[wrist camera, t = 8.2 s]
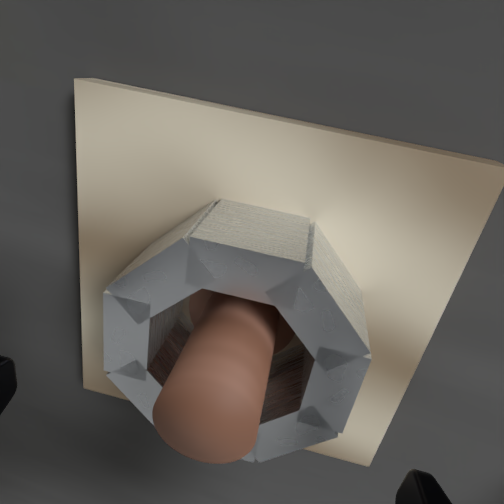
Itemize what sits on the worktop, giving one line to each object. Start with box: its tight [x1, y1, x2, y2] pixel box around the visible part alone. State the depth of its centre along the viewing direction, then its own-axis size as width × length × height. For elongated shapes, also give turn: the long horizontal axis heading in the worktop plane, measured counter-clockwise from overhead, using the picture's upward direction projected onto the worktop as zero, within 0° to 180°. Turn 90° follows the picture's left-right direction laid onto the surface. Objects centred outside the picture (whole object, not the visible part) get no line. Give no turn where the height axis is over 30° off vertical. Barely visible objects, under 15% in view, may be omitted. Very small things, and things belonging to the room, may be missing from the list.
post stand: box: [74, 78, 504, 467], centre depth 11 cm, size 12×12×6 cm
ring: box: [103, 199, 372, 463], centre depth 12 cm, size 7×7×3 cm
